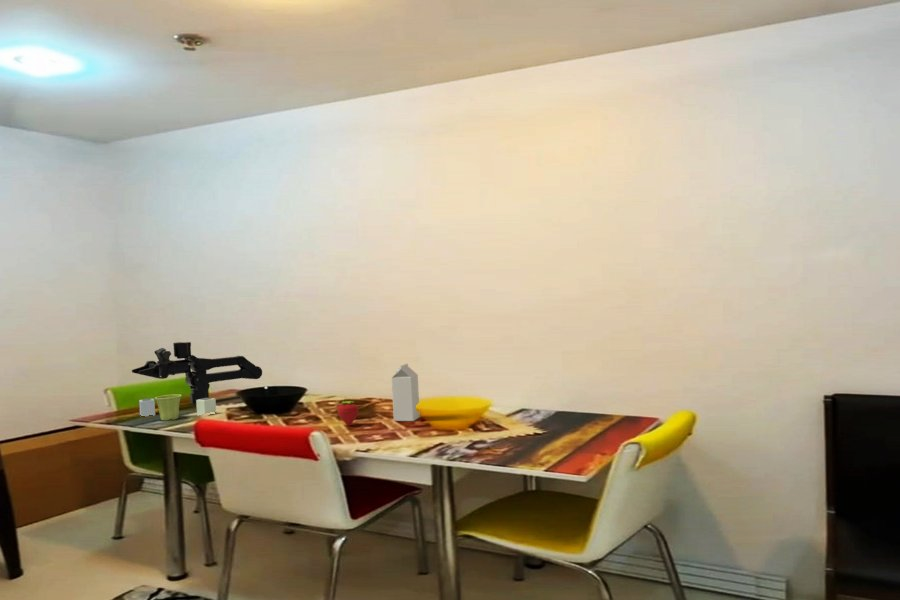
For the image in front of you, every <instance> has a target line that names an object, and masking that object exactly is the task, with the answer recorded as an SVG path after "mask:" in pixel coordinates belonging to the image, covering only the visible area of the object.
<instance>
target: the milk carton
mask: <svg viewBox="0 0 900 600" xmlns="http://www.w3.org/2000/svg"><path fill="white" fill-rule="evenodd" d="M394 372H395V374H394V375H393V376H392V377H391V389H392V391H391V392H392V394H391V395H392V411H393V421H394V422H415V421H416V420H418V419H420V416H421V415H420V414H421V413H420V412H419V413H418V411H416V405H417V404H418V403H419V404H420V396H419V377H418V376H419V375H418V373H417V372H415V371H414V370H413V369H412V368H411V367H410V366H409V363H405V364H402V365H400V367H398V368H396V370H395V371H394Z"/></svg>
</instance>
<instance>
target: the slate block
mask: <svg viewBox="0 0 900 600" xmlns="http://www.w3.org/2000/svg"><path fill="white" fill-rule="evenodd" d="M138 401H139V416H140V415H141V416H145V417H150V416H149V415H153V416H156V407H155V406H156V405H155V398H144V399H139V400H138ZM141 416H140V417H141Z"/></svg>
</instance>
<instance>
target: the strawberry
mask: <svg viewBox="0 0 900 600" xmlns="http://www.w3.org/2000/svg"><path fill="white" fill-rule="evenodd" d="M344 398H345V401H342V402H341V403H340V404H338V407H337V413H338V417H339V418H340V419H341V420H342V421H343V423H344V424H345V425H346V426H348V427H349V426H351V425H352V424H353V422H354V421H355V420H356V418H357V417H358V413H359V407H358V405H357V404H354V403H355V401H351V400H348V399H347V397H346V396H344ZM347 400H348V401H347Z"/></svg>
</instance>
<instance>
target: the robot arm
mask: <svg viewBox="0 0 900 600" xmlns="http://www.w3.org/2000/svg"><path fill="white" fill-rule="evenodd" d="M191 342H192V341H186V342H184V341H183V342H182V341H179V342H178V341H177V342H173V343H172V344H173V357H174V358H176V360H170V358H171V356H172V353H171V351H169V350H166V349H165V348H164V347H161V348H159V349H156V350H154V355H156V358H157V359H158V360H157V361H155V360H147V361H145V364H144V365H143V366H140V367H137V368H134V369H131V372H132V373H133V374H137V375H142V376H146V377H151V378H154V379H161V380H163V379H164V380H165V379H167V378H168V377H169V376H175V375H181V374H185V376H184V377H185V383H186V385H188V386H189V388H190V389H191V391H190V392H191V393H190V394H189V397H190V398H189V399H190V405H193V406H197V404H196V400H199V399H203V398H210V397H209V396H210V395H209V389H210V387H211V384H210V383H214V382H215V383H216V382H222V381H223V382H224V381H229V380H239V379H244V380H245V379H246V380H247V379H248V380H258V379H261V378H262V376H263V369H262V367H260V366H258V365H255V364H254V363H253V362H251V361H250V360H248V359H247V358H246V357H245V356H243V355H235V356H226V357H219V358H218V357H216V358H205V357H197V356H196V355H193V354H192V349H191V348H192V343H191ZM232 366H238V368H239V369H237V370H236V369H234V370H226V371H218V372H217V371H216V372H209V373H208V372H207V371H209V370H212V369H213V368H214V369H215V368H223V367H232Z"/></svg>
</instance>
